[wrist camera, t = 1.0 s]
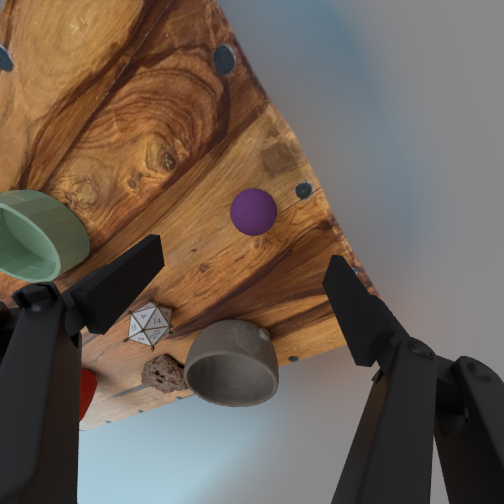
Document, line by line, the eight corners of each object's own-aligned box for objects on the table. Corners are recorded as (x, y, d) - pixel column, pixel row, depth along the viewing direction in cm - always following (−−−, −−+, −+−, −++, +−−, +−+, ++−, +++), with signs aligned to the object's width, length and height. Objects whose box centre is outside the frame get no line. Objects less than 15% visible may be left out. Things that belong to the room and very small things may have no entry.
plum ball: (235, 182, 26) (227, 191, 20) (278, 187, 25) (282, 197, 20) (233, 223, 29) (226, 240, 23) (272, 228, 28) (273, 246, 23)
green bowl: (-14, 184, 28) (-72, 192, 23) (73, 194, 28) (33, 204, 23) (30, 259, 35) (-8, 277, 30) (100, 268, 35) (74, 287, 30)
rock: (166, 350, 46) (158, 366, 43) (202, 376, 51) (198, 392, 48) (130, 367, 51) (121, 383, 47) (167, 390, 56) (161, 405, 52)
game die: (168, 287, 41) (152, 293, 31) (188, 320, 41) (180, 337, 31) (128, 311, 39) (98, 326, 29) (150, 346, 39) (128, 371, 29)
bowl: (263, 298, 36) (262, 347, 27) (285, 354, 43) (290, 406, 35) (184, 314, 39) (160, 362, 30) (217, 363, 47) (206, 412, 38)
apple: (112, 369, 52) (65, 437, 40) (106, 387, 58) (63, 452, 45) (65, 353, 50) (-1, 421, 38) (64, 374, 55) (6, 438, 43)
